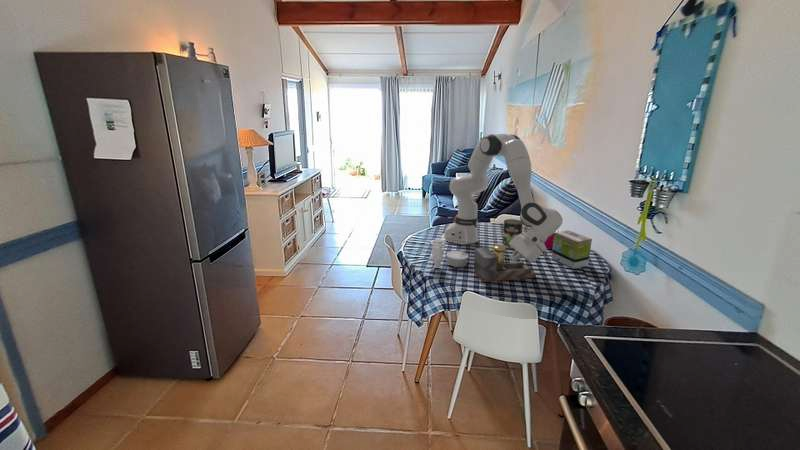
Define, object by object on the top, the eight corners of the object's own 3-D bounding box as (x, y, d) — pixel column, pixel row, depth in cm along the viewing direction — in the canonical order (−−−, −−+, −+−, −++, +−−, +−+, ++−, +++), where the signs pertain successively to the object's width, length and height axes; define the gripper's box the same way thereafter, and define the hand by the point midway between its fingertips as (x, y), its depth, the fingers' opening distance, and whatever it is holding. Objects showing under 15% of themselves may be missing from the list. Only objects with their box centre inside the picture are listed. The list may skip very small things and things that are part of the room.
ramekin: (471, 268, 185) (471, 258, 183) (449, 269, 183) (449, 259, 181) (463, 259, 195) (464, 249, 194) (443, 260, 193) (443, 251, 192)
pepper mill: (556, 249, 207) (560, 214, 201) (542, 248, 209) (546, 214, 203) (554, 245, 214) (558, 211, 208) (540, 244, 215) (544, 210, 209)
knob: (493, 274, 172) (495, 249, 168) (488, 269, 177) (490, 245, 174) (506, 273, 173) (508, 248, 169) (500, 268, 178) (502, 244, 175)
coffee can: (519, 249, 208) (522, 225, 204) (500, 246, 212) (502, 223, 208) (521, 243, 217) (523, 220, 213) (503, 241, 221) (505, 218, 217)
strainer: (445, 270, 182) (446, 241, 177) (431, 271, 181) (432, 242, 177) (443, 264, 188) (443, 236, 184) (429, 265, 188) (429, 237, 183)
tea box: (550, 258, 195) (553, 232, 190) (564, 255, 199) (568, 229, 194) (573, 269, 182) (577, 241, 177) (588, 266, 185) (592, 238, 181)
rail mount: (482, 282, 169) (484, 258, 165) (473, 271, 180) (475, 248, 176) (536, 278, 172) (539, 254, 169) (524, 268, 184) (526, 245, 180)
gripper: (519, 228, 182) (498, 248, 183) (540, 242, 162) (517, 264, 164) (527, 236, 183) (506, 255, 185) (548, 251, 164) (525, 272, 166)
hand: (511, 260), depth 174 cm, fingers closed
